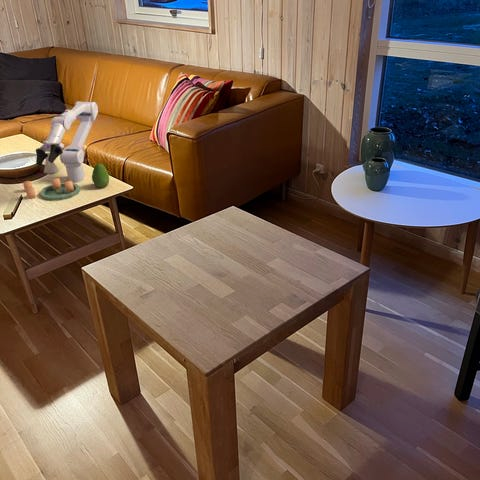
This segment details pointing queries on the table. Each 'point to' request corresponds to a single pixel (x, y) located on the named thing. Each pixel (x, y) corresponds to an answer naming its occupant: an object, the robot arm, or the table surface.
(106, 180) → the avocado
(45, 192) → the tray
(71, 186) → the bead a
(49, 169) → the flask
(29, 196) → the pale orange egg
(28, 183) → the brown egg
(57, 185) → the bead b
